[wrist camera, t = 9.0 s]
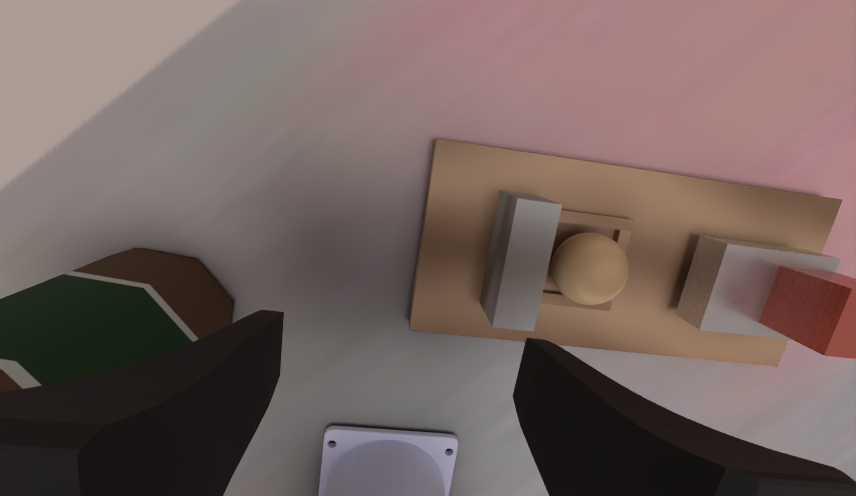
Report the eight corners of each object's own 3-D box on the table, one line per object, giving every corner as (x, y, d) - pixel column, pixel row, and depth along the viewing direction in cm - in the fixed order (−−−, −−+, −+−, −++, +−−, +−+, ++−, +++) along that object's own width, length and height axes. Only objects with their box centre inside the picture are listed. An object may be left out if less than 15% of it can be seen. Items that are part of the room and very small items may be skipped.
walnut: (594, 292, 22) (633, 320, 19) (534, 286, 22) (562, 313, 18) (611, 230, 21) (654, 247, 18) (548, 222, 21) (581, 238, 17)
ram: (775, 325, 22) (879, 376, 18) (675, 314, 22) (754, 363, 17) (804, 249, 21) (923, 280, 17) (700, 235, 21) (792, 263, 16)
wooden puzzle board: (759, 356, 25) (829, 397, 21) (408, 320, 23) (411, 359, 19) (819, 196, 23) (911, 208, 19) (434, 138, 21) (443, 138, 16)
